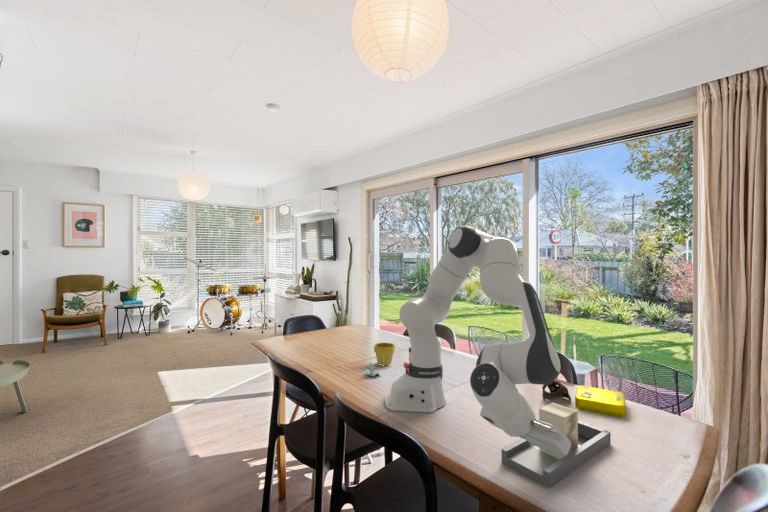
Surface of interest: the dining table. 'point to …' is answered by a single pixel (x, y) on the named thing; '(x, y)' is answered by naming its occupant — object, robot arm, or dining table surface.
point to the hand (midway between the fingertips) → (537, 443)
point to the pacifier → (371, 370)
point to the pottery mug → (555, 391)
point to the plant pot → (384, 353)
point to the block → (562, 421)
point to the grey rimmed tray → (555, 455)
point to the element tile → (600, 401)
